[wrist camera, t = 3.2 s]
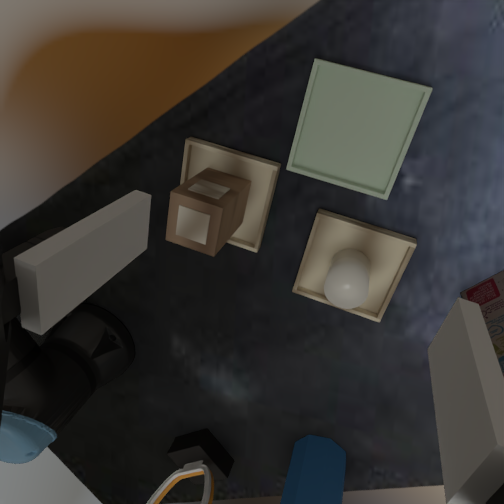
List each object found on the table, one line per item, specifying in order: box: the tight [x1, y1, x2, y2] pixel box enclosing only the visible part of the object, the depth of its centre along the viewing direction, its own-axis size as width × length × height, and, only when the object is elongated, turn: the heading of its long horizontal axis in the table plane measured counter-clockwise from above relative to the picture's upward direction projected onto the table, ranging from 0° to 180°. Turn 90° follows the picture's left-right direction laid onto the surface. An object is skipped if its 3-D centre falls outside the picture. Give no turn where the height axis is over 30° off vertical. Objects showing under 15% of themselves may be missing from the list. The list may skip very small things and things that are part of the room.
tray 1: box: [180, 137, 281, 253], centre depth 52 cm, size 12×12×2 cm
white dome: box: [324, 249, 371, 309], centre depth 48 cm, size 5×5×6 cm
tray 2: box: [286, 58, 433, 200], centre depth 43 cm, size 12×12×2 cm
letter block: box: [166, 167, 252, 257], centre depth 47 cm, size 6×6×10 cm
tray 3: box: [292, 208, 417, 322], centre depth 51 cm, size 12×12×2 cm
